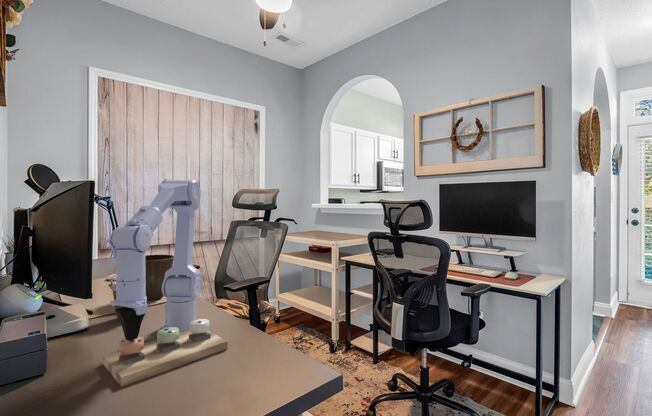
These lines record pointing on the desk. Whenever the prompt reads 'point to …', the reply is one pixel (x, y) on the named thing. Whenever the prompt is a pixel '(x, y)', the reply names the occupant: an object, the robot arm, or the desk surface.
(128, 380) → the button panel
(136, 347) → the terracotta button
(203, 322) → the off-white button
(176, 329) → the sage button
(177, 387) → the desk surface
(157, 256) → the plant pot
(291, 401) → the desk surface
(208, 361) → the desk surface
